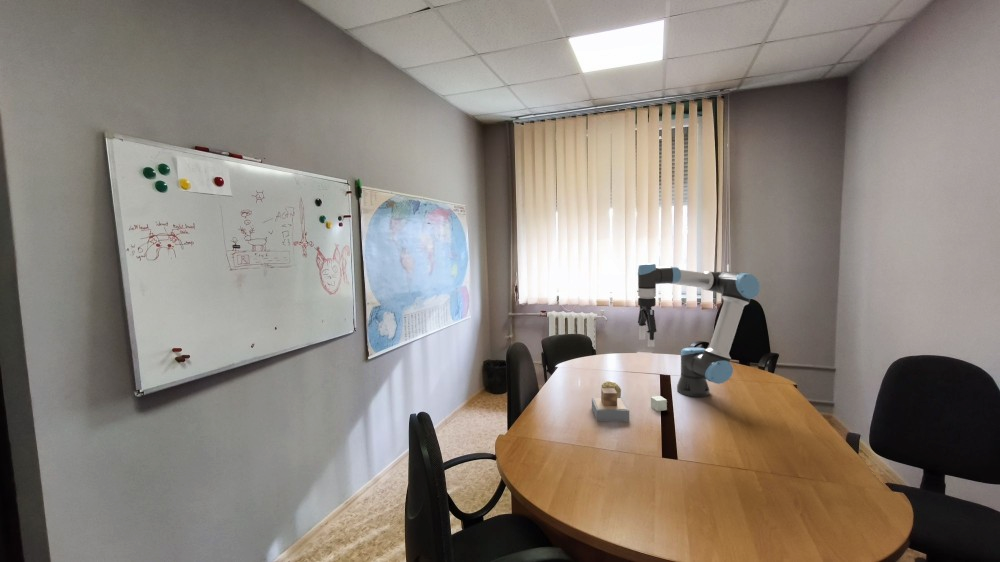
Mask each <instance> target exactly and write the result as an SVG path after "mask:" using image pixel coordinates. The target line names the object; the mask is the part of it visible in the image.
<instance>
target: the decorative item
mask: <svg viewBox="0 0 1000 562" xmlns="http://www.w3.org/2000/svg"><path fill="white" fill-rule="evenodd" d="M601 388H615V390H616V392H617V398H622V397H621V396H622V395H621V394H622V388H621V386H620V385H619V384H618V383H616V382H612V381H604V383H602V385H601Z"/></svg>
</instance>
